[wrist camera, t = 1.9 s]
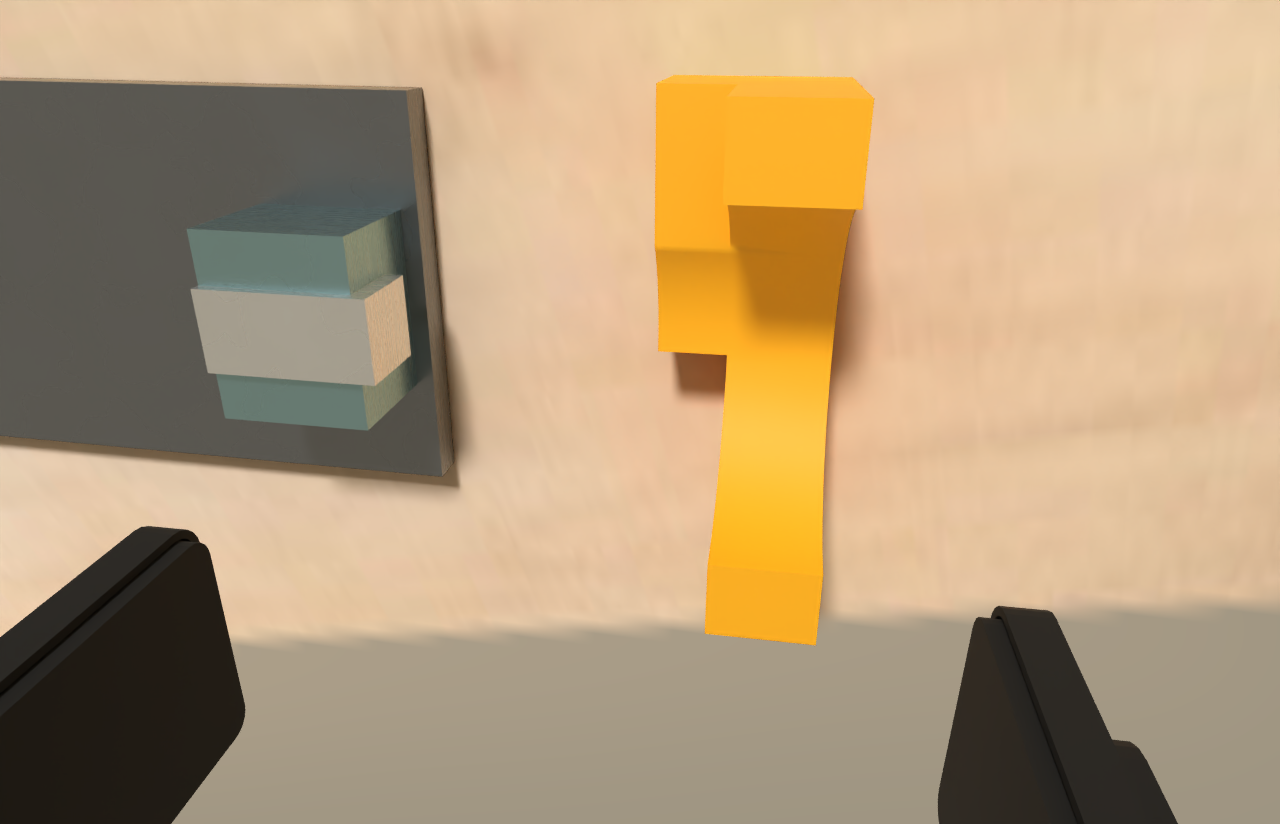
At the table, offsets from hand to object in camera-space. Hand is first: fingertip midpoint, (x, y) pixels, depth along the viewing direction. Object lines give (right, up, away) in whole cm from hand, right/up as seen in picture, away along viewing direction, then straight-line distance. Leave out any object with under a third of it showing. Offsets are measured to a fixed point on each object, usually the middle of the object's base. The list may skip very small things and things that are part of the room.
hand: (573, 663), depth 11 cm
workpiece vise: (-17, +7, +16) cm, 24 cm away
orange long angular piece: (+4, +6, +14) cm, 15 cm away
